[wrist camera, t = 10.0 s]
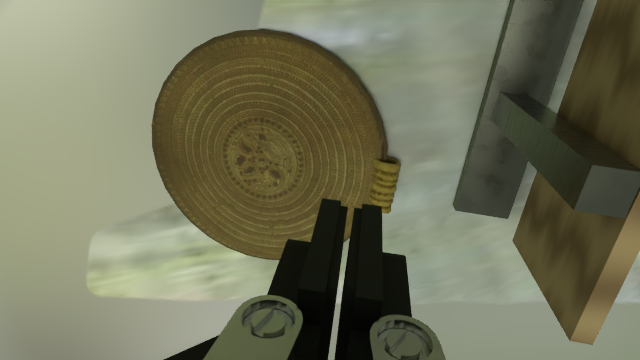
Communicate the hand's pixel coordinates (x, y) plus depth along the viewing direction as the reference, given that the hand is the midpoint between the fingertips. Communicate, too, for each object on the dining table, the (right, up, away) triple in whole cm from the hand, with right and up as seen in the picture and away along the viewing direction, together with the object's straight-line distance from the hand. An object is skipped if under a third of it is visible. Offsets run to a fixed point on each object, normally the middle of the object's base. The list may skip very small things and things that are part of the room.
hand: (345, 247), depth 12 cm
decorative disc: (-6, +5, +39) cm, 40 cm away
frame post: (+20, +10, +33) cm, 40 cm away
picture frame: (+21, +7, +27) cm, 35 cm away
